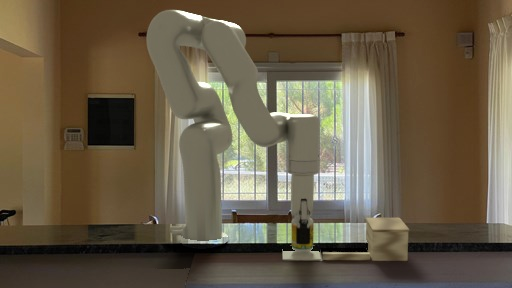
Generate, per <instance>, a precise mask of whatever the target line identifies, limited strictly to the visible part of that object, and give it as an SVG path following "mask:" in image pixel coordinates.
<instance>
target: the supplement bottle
mask: <svg viewBox="0 0 512 288" xmlns="http://www.w3.org/2000/svg"><path fill="white" fill-rule="evenodd" d="M299 215H301V212H299ZM300 219H301V217H300ZM290 224H291V246H292V249H293V250H295V251H298V252H308V251H311V250H312V249H313V246H314V227H315V226H314V219H313V218H312V217H311V216H309V227H310V244H297V243H296V227H298V226H297V215H294V216H293V218H292V220H291V223H290Z"/></svg>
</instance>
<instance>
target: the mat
mask: <svg viewBox="0 0 512 288" xmlns="http://www.w3.org/2000/svg"><path fill="white" fill-rule="evenodd" d="M320 252H321V251H320ZM320 252H319V251H308V252H298V251H283V250H282V261H319V260H321V257H320Z"/></svg>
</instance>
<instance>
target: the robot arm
mask: <svg viewBox="0 0 512 288" xmlns="http://www.w3.org/2000/svg"><path fill="white" fill-rule="evenodd" d="M246 45H247V37H246V34H245V32H244V29H242V27H240V26H239V25H237V24H236V23H233V22H228V21H225V20H218V19H214V18H210V17H206V16H202V15H198V14H194V13H190V12H186V11H184V10H179V9H178V10H177V9H165V10H163V11H162V10H161V11H160V12H159V13H157V14H156V15H155V16H153V18H152V19H151V21H150V24H149V26H148V27H147V31H146V48H147V52H148V54H149V57H150V60H151V62H152V64H153V66H154V68H155V71H156V72H157V75H158V78H159V81H160V84H161V87H162V89H163V92H164V95H165V98H166V100H167V102H168V105H169V108H170V110H171V111H172V114H173V115H174V117H176V118H177V119H181V120H192V119H193V121H194V123H191V124H190V125H188V126H187V127H185V128H184V129H183V130H182V131H181V134H180V137H179V141H178V146H179V154H180V158H181V162H182V170H183V171H182V173H183V189H184V191H183V192H184V194H183V195H184V215H185V216H184V217H185V224H182V225H181V226H177V225H170V226H169V234H171V235H172V236H181V237H182V236H183V238H185V239H190V240H197V241H209V240H217V239H221V238H222V237H228V238H229V236H228V234H227V233H226V232H223V211H222V205H223V204H222V177H221V168H220V167H221V166H220V164H219V161H218V155H220V154H222V153H225V152H226V151H227V150H228V149H229V148H230V147H231V145H232V142H233V137H234V136H233V130H232V127H231V124H230V121H229V119H228V116H227V113H226V112H225V108H224V106H223V104H222V101H221V98H220V96H219V94H218V93H217V91H216V89H215V88H214V87H213V86H212V85H210V83H209V84H208V83H207V82H202V81H197V79H196V77H195V75H194V73H193V70H192V67H191V65H190V62H189V60H188V59H187V57H186V55H185V54H184V53H183V51H182V49H181V47H182V46H183V47H190V48H195V49H199V50H203V51H205V52H206V54H207V55H208V57H209V58H210V60H211V62H212V64H213V66H214V67H215V69H216V70H217V72H218V73H219V75H220V77H221V79H222V81H223V82H224V84H225V85H226V88H227V90H228V96H229V100H230V103H231V104H230V105H231V107H232V110H233V112H234V115H235V117H236V119H237V120H238V122H239V124H240V126H241V127H242V129H243V131H244V133H245V134H246V135H247V137H248V138H249V139H250V141H252V142H253V144H255V145H256V146H259V147H261V148H269V147H272V146H275V145H277V144H281V143H284V142H285V143H286V142H287V145H286V146H287V155H286V156H287V164H286V165H287V168H286V169H287V170H286V171H287V174H290V175H291V177H290V213H291V216H292V217H295V216H294V215H297V226H298V227H296V243H297V244H310V227H309V216H310V217H311V216H312V215H313V211H314V191H315V190H314V189H315V185H314V183H315V175H318V174H319V173H320V133H321V132H320V130H321V129H320V128H321V127H320V125H321V124H320V118H319V117H318V116H317V115H315V114H309V113H304V114H303V113H302V114H301V113H299V114H297V113H296V114H290V113H284V112H277V111H276V112H275V111H274V112H270V111H269V109H268V108H267V106H266V105H265V102H264V101H263V99H262V97H261V94H260V92H259V89H258V77H259V71H258V68H257V66H256V64H255V63H254V61H253V60H252V58H251V57H250V55H249V53H248V52H247V50H246ZM299 212H301V215H299ZM300 217H301V219H300Z"/></svg>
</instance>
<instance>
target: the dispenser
mask: <svg viewBox="0 0 512 288" xmlns="http://www.w3.org/2000/svg"><path fill="white" fill-rule="evenodd" d="M364 220H365V222H366V223H365V224H366V225H365V229H366V230H365V241H366V240H367V242H368V250H367V252H364V251H363V252H361V251H360V252H358V251H355V252H353V251H352V252H350V251H349V252H345V251H344V252H341V251H340V252H339V251H338V252H337V251H332V252H329V251H322V253H321V251H320V257H321V260H318V261H319V262H323V261H371V260H372V261H377V262H378V261H379V262H383V261H384V262H385V261H386V262H390V261H391V262H392V261H393V262H396V261H398V262H401V261H402V262H406V261H408V255H409V254H408V253H409V250H408V249H409V248H408V247H409V232H410V228H409V227H408V226H407V224H406V223H405V222H404V221H403V220H402V219H401V218H400V217H365V218H364Z"/></svg>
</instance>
